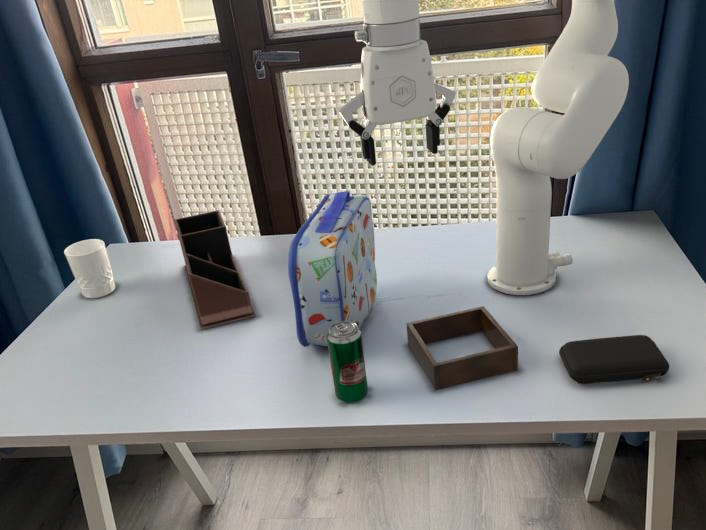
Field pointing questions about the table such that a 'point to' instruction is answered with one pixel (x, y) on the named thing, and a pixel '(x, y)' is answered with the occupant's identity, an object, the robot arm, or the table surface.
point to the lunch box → (333, 266)
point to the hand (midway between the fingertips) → (402, 157)
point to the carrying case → (613, 359)
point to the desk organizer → (212, 270)
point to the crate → (466, 366)
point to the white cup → (91, 267)
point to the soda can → (347, 361)
